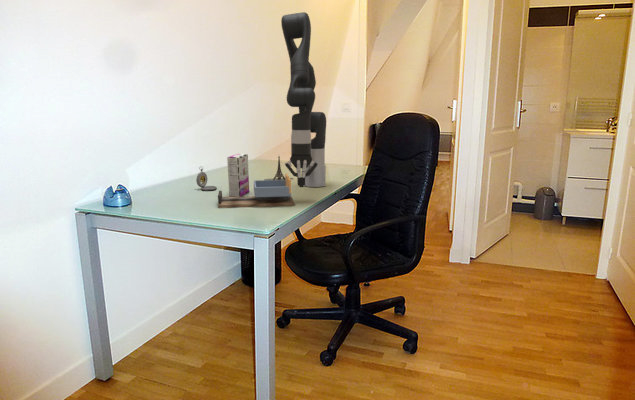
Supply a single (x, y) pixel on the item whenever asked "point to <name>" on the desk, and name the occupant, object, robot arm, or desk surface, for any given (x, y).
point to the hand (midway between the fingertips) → (301, 186)
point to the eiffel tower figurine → (278, 173)
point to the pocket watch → (204, 181)
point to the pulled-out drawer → (272, 188)
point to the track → (252, 201)
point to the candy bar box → (238, 175)
